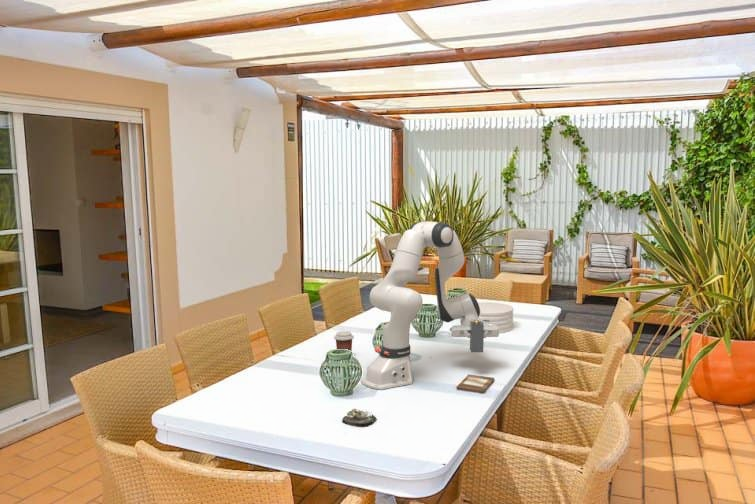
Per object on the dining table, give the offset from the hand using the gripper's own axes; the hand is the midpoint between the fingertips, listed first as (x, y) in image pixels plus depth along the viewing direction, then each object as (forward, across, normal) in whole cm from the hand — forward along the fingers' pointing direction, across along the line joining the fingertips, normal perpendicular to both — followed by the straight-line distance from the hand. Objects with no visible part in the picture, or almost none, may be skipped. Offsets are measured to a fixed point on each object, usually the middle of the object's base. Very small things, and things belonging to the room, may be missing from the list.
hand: (477, 336), depth 249 cm
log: (+48, -47, +18) cm, 69 cm away
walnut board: (+13, -2, +17) cm, 21 cm away
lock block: (-1, 0, +6) cm, 7 cm away
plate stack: (-80, +16, +17) cm, 83 cm away
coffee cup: (-25, -58, +17) cm, 66 cm away
